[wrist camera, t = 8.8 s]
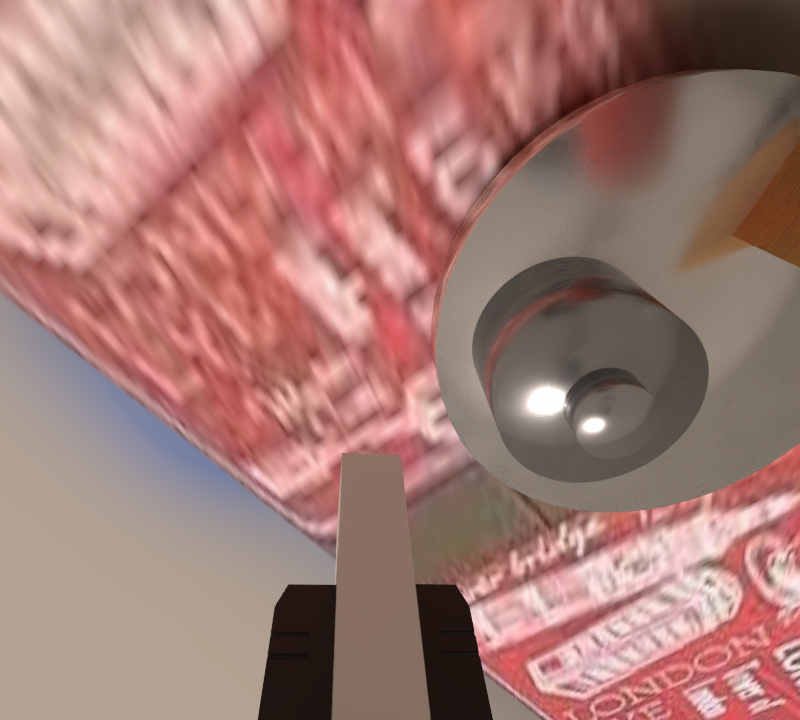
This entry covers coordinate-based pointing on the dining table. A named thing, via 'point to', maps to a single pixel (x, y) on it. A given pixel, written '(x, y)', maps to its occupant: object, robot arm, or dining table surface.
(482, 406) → the turntable
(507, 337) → the cover
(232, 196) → the dining table surface
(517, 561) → the dining table surface
